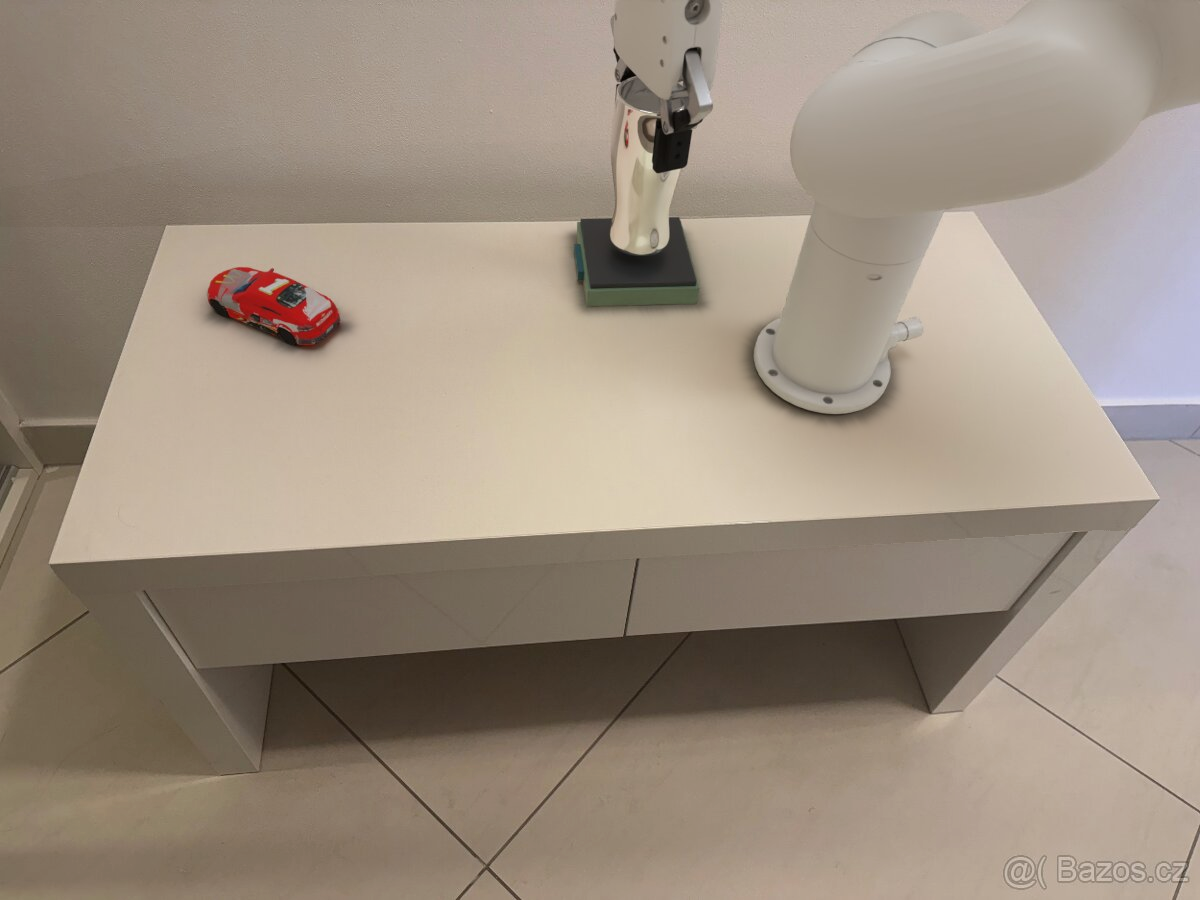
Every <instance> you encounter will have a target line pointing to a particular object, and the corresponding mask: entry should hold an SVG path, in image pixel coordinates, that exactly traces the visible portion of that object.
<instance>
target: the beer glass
mask: <svg viewBox="0 0 1200 900" xmlns="http://www.w3.org/2000/svg"><path fill="white" fill-rule="evenodd" d="M618 84H619V86H618V88H617V95H616V94H615V96H616V102H615V101H614V108H613V114H612V122H611V131H610V163H611V173H612V181H613V182H612V183H613V190H614V208H613V214H612V217H611V218H612V221H611V224H610V228H609V233H608V236H609V240H610V242H611V244H612V245H613V246H614V247H615V248H616V249H618V250H619V251H621V252H623V253H626V254H629V255H633V256H650V255H654V254H657V253H659V252H661V251H663V250H664V249H665V248H666V247H667V245H668V243H669V240H670V229H669V217H670V210H671V205H672V202H673V198H674V196H675V192H676V189H677V186H678V184H679V181H680V177H681V175H682V172H683V169H684V168H681V169H676V170H672V171H667V172H663V173H656V172H655V171H654V170H653V159H654V150H655V141H656V133H657V129H659V128H662V122H661V112H660V103H659V97H658V96H657V95H656V94H654V93H653V92H652V91H651V90H650V89H649V88H648V87H647V86H646V85H645V84H644V83H643V82H642V81H641V80H640V79H639V78H638V77H637V76H634V77H630V78H628V79H626V80H624V81H623V82H619V83H618ZM680 89H684V88H683V81H682V82H678V83H677V85H676V87H672V91H674V90H680ZM672 109H673V116H674V115H675V114H676V113H678V112H679V111H681V110H684V105H683V98H680V99H674V100H672Z"/></svg>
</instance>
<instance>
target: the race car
mask: <svg viewBox="0 0 1200 900" xmlns="http://www.w3.org/2000/svg"><path fill="white" fill-rule="evenodd" d="M274 271H275V268H273V267H272V268H270V269H269V270H268V271H262V270H259V269H256V268H252V267H249V266H236V267H232V268H230V269H226V270H224V271H222V272H220V273H218V274H216V275H215V276H214V277H213V278H212V279H211V281H210V283H209V286H208V288H207V292H206V296H207V301H208V304H209V306H210V307H212V309H213V310H214V311H215V312H216V313H217V314H218V315H220V316H221V317H227V316H229V318H232V319H234V320H237V321H239V322H242V323H244V324H246V325H249V326H251V327H253V328H255V329H258V330H261V331H263V332H265V333H268V334H269V335H272V336H274V337H280V338H281V339H282V340H283V341H284V342H285V343H286V344H288V345H292V346H293V345H295V344H296V345H299V346H313V345H316V344H318V343H320V342H321V343H322V342H323V341H324V340H325V339H326V338H327V337H328V336H329V335H330V334H331V333H332V332H333V331H334V330H335V329H336V328H337V327H339V325H341V316H340V311H339V308H337V305H336V304H335V302H334V301H333V300H332V299H331V298H330V297H328V296H326V294H325V295H324V294H322V293H320V292H318V291H316V290H314V289H313V288H311V287H309V286H307V285H305V284H303V283H301V282H299V281H297V280H295V279H293V278H290V277H287V276H286V275H282V274H280V273H278V272H274Z"/></svg>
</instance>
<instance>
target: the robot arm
mask: <svg viewBox="0 0 1200 900" xmlns="http://www.w3.org/2000/svg"><path fill="white" fill-rule="evenodd" d="M614 6H615V7H614V14H613V15H612V16H611V17H610V28H611V33H612V37H613V48H612V50H613V53H614V56H615V61H616V66H615V67H614V79H615V81H616V82H617V83H616V85H615V98H614V103H615V102H616V95H617V88H618V86H619V84H620V83H621V82H623V81H624V80H626V79H628V78H630V77H634V76H637V77H638V78H639V79H640V80H641V81H642V82H643V83H644V84H645V85H646V86H647V87H648V88H649V89H650V90H651V91H652V92H653V93H654V94H656V95H657V96H658V97H659V103H660V112H661V122H662V128H659V129H657V133H656V141H655V150H654V159H653V170H654V171H655V172H656V173H663V172H667V171H672V170H676V169H681V168H683V169H684V168H686V167H687V165H688V161H689V155H690V150H691V149H690V148H691V142H692V136H693V130H695V129H697V128H698V125H699V124H701V123H702V122H703V121H704V119H705V118H706V117H707V116H708V115H710V113H712V111H713V109H714V104H713V99H712V95H711V91H712V89H713V86H714V83H715V77H716V71H717V63H718V61H717V60H718V55H719V47H720V37H721V27H722V26H721V25H722V16H723V15H722V13H723V0H615V3H614ZM678 82H682V83H683V88H684V89H680V90H674V91H672V87H676V85H677V83H678ZM680 98H683V105H684V110H681V111H679V112H678V113H676V114H675V115H674V116H673V109H672V100H674V99H680ZM1197 104H1198V105H1199V104H1200V0H1029V1H1028V2H1027V3H1026V4H1025V5H1023V6H1022V7H1021V8H1020V9H1019V10H1018V11H1017V12H1016V13H1015V14H1014V15H1012V17H1011V18H1010V19H1008V20H1007V21H1006V22H1005V23H1004V24H1003V25H1002V26H1000V27H997V28H996V29H993V30H990V31H987V30H986V29H985V28H984V27H983V26H982V25H981V24H980V23H978V22H977V21H976V20H975V19H972V18H971V17H969V16H967V15H965V14H962V13H958V12H955V11H953V10H952V11H951V10H930V11H924V12H920V13H917V14H914V15H911V16H910V17H907V18H904V19H902V20H900V21H898V22H897V23H895V24H893V25H892V26H890V27H889V28H887V29H886V30H884V31H883V32H881V33H880V34H879V35H877V36H876V37H875V38H874V39H872V40H871V41H869V43H868V44H867V45H865V46H863V47H862V48H861V49H860V50H859V51H858V52H856V53H855V54H854V55H853V56H852V57H851V58H849V59H848V60H847V61H845V63H844V64H842V65H840V67H838V68H837V69H836V70H834V72H832V73H831V74H830V75H829V76H827V77H826V78H825V79H824V80H822V82H820V83H819V85H817V86H816V87H815V88H814V89H813V90H812V92H811V93H810V94H809V95H808V97H807V98H806V100H805V101H804V102H803V104H802V106H801V107H800V109H799V110H798V113H797V115H796V117H795V120H794V123H793V126H792V130H791V134H790V141H789V157H790V162H791V166H792V170H793V173H794V176H795V178H796V179H797V181H798V183H799V185H800V186H801V188H802V189H803V190H804V192H805V193H806V194H807V195H808V196H809V197H810V198H812V200H814V204H813V207H812V211H811V214H810V217H809V220H808V224H807V227H806V230H805V234H804V237H803V240H802V245H801V247H800V251H799V255H798V258H797V261H796V265H795V267H794V271H793V275H792V278H791V281H790V285H789V288H788V291H787V295H786V298H785V301H784V306H783V309H782V312H781V315H780V317H777V318H775V319H773V320H772V321H770V322H768V323H767V324H766V326H764V328H762V330H761V331H760V332H759V334H758V336H757V338H756V341H755V345H754V348H753V361H754V367H755V370H756V371H757V373H758V376H759V378H761V380H762V381H763V383H764V384H765V385H766V386H767V387H768V388H769V389H770V390H771V391H772V392H773V393H774V394H776V395H777V396H778V397H780V398H781V399H782V400H784V401H786V402H788V403H790V404H792V405H794V406H795V407H798V408H801V409H803V410H807V411H811V412H815V413H820V414H828V415H843V414H850V413H854V412H859V411H862V410H864V409H866V408H868V407H870V406H872V405H873V404H874V403H876V402H877V401H878V400H879V399H880V398H881V397H882V395H883V394H884V393H885V390H886V389H887V387H888V385H889V382H890V378H891V373H892V371H891V370H892V369H891V362H890V360H889V356H888V353H889V351H890V350H891V349H894V348H896V347H897V345H898V343H900V342H907V341H911V340H913V339H916V338H919V337H921V336H922V335H923V333H924V325H923V322H922V320H921V319H920V318H919V317H916V316H914V317H910V318H907V319H903V320H900V321H897V320H898V318H899V315H900V313H901V311H902V308H903V307H904V303H905V302H906V299H907V297H908V294H909V292H910V289H911V288H912V285H913V283H914V281H915V278H916V276H917V274H918V272H919V269H920V267H921V264H922V263H923V260H924V258H925V256H926V253H927V251H928V249H929V247H930V245H931V243H932V240H933V237H934V236H935V233H936V232H937V229H938V227H939V225H940V222H941V220H942V219H943V215H944V214H945V211H949V210H955V209H962V208H968V207H969V208H970V207H976V206H983V205H989V204H997V203H1004V202H1009V201H1010V202H1011V201H1015V200H1016V201H1017V200H1022V199H1027V198H1031V197H1036V196H1040V195H1044V194H1047V193H1050V192H1053V191H1056V190H1058V189H1062V188H1065V187H1066V186H1069V185H1071V184H1073V183H1076V182H1077V181H1080V180H1082V179H1083V178H1086V177H1088V176H1089V175H1091V174H1093V173H1094V172H1095V171H1096V170H1098V169H1100V168H1101V167H1102V166H1104V165H1105V164H1106V163H1107V162H1108V161H1110V160H1111V159H1112V158H1113V157H1114V156H1115V155H1116V154H1117V153H1118V152H1119V151H1120V150H1121V149H1122V148H1123V147H1124V145H1125V144H1126V143H1127V142H1128V141H1129V139H1130V138H1131V137H1132V135H1133V134H1134V133H1135V131H1136V130H1137V128H1138V127H1139V125H1140V124H1141V123H1142V122H1143V121H1144V120H1147V119H1148V118H1150V117H1153V116H1155V115H1158V114H1161V113H1164V112H1167V111H1168V112H1169V111H1172V110H1176V109H1179V108H1184V107H1188V106H1189V107H1190V106H1193V105H1197Z"/></svg>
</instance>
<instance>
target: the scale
mask: <svg viewBox="0 0 1200 900" xmlns="http://www.w3.org/2000/svg"><path fill="white" fill-rule="evenodd" d="M611 221H612V217H606V218H605V217H604V218H603V217H601V218H594V217H593V218H580V221H577V222H576V243H574V244H573V256H574V257H573V258H574V265H575V271H576V278H577V281H578V282H581V281H582V284H583V292H584V298H585V305H586V307H618V306H619V307H621V306H655V305H657V306H659V305H691V304H695V305H696V304H697V303H698V298H699V292H700V285H699V281H698V279H697V275H696V270H695V266H694V264H693V260H692V256H691V253H690V249H689V245H688V242H687V237H686V234H685V231H684V227H683V223H682V220H681V219H680V217H679V216H673V217H671V216H669V229H670V240H669V243H668V245H667V247H666V248H665V249H664V250H663V251H661V252H659V253H657V254H654V255H650V256H633V255H629V254H626V253H623V252H621V251H619V250H618V249H616V248H615V247H614V246H613V245H612V244H611V242H610V240H609V236H608V233H609V228H610V224H611Z"/></svg>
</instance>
